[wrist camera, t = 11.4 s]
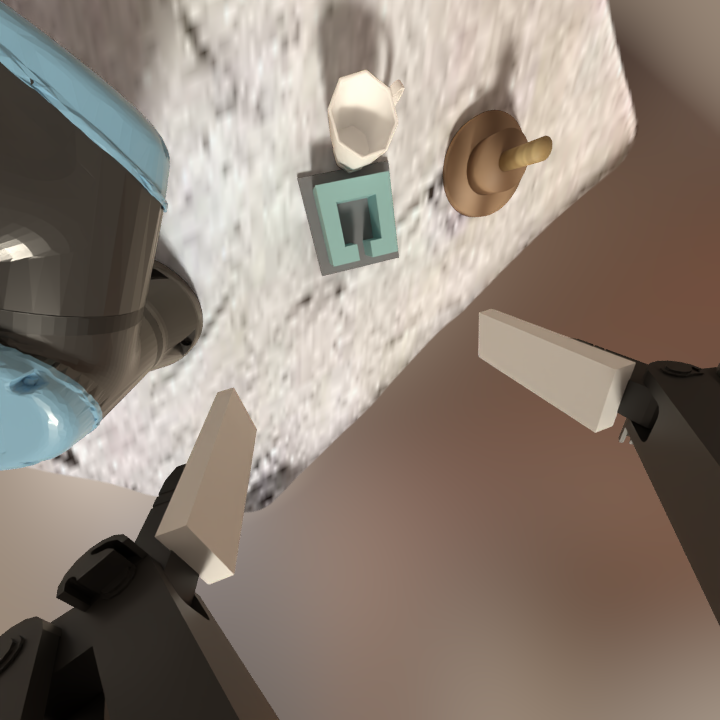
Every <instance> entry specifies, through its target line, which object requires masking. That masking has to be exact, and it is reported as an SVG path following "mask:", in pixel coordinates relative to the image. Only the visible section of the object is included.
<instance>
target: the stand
mask: <svg viewBox="0 0 720 720" xmlns="http://www.w3.org/2000/svg"><path fill="white" fill-rule="evenodd" d="M551 150H552V140H551V138H550V137H548V136H544V137H541V138H538V139H536V140H533V141H530V142H527V139H526V137H525V135H524V134H523V132H522V130H521V128H520V126H519V124H518V123H517V121H516V120H515V119H514V118H513V117H512V116H511V115H509V114H508V113H506V112H503V111H500V110H490V111H486V112H483V113H481V114H479V115H477V116H476V117H474V118H473V119H471V120H470V121H468V122H467V123H466V124H464V125H463V126H462V127H461V128H460V130H459V131H458V132H457V133H456V135H455V136H454V138H453V139H452V141H451V143H450V145H449V148H448V150H447V153H446V156H445V161H444V167H443V184H444V190H445V193H446V196H447V198H448V201H449V202H450V204H451V205H452V207H453V208H454V209H455V210H456V211H457V212H459V213H460V214H462V215H464V216H468V217H481V216H487V215H490V214H492V213H494V212H496V211H498V210H499V209H500V208H502V207H503V206H504V205H505V204H506V203H507V202H508V201H509V199H510V198H511V197H512V195H513V194H514V192H515V191H516V189H517V187H518V185H519V182H520V180H521V178H522V176H523V174H524V172H525V170H526V167H527V165H531V164H534V163H538V162H541V161H544V160H546V159H547V158H548V156H549V155H550V153H551Z"/></svg>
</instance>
